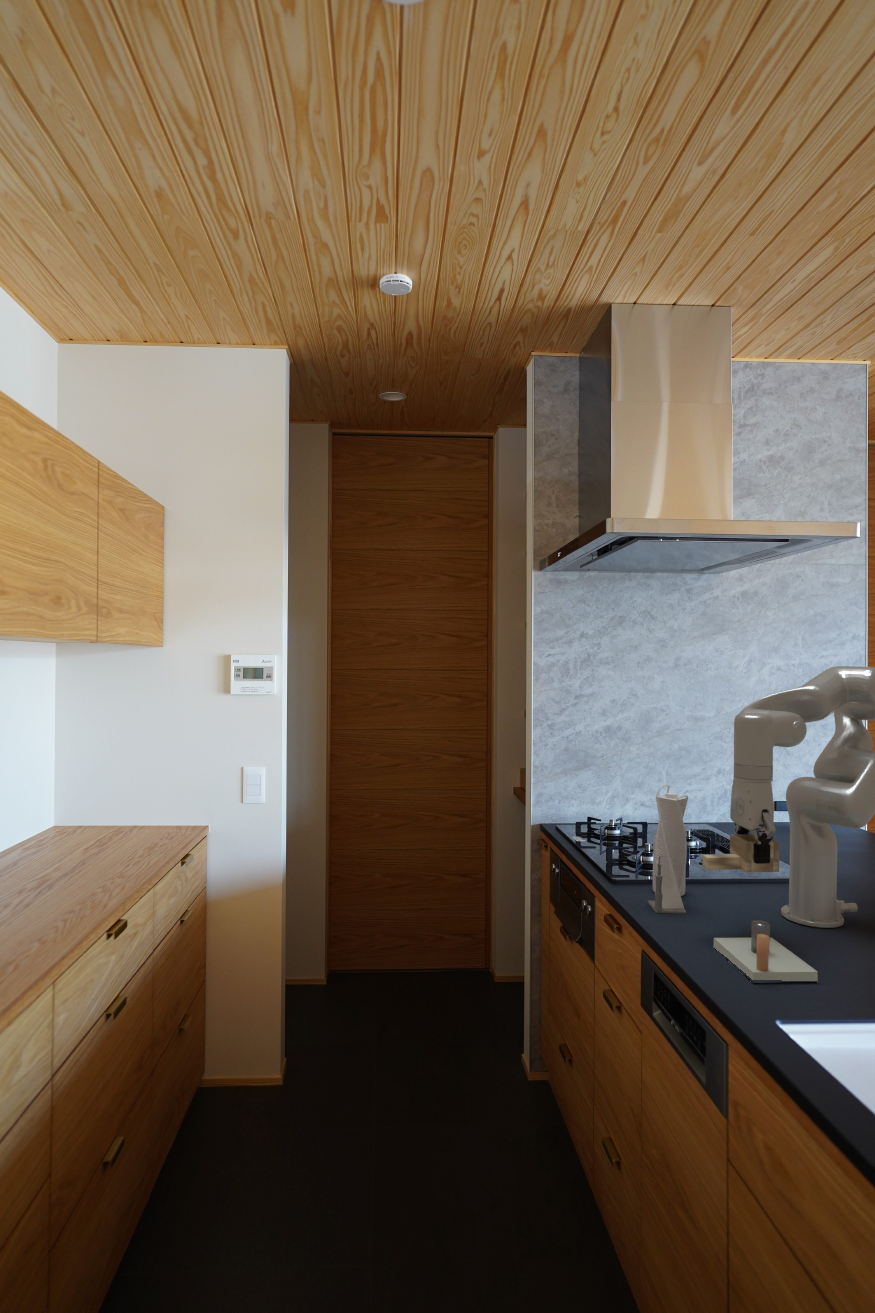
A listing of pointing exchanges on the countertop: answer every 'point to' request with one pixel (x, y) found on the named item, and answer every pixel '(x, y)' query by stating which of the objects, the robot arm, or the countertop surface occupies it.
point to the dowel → (762, 952)
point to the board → (780, 960)
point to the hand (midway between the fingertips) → (752, 857)
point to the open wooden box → (742, 856)
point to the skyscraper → (670, 853)
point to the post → (758, 932)
